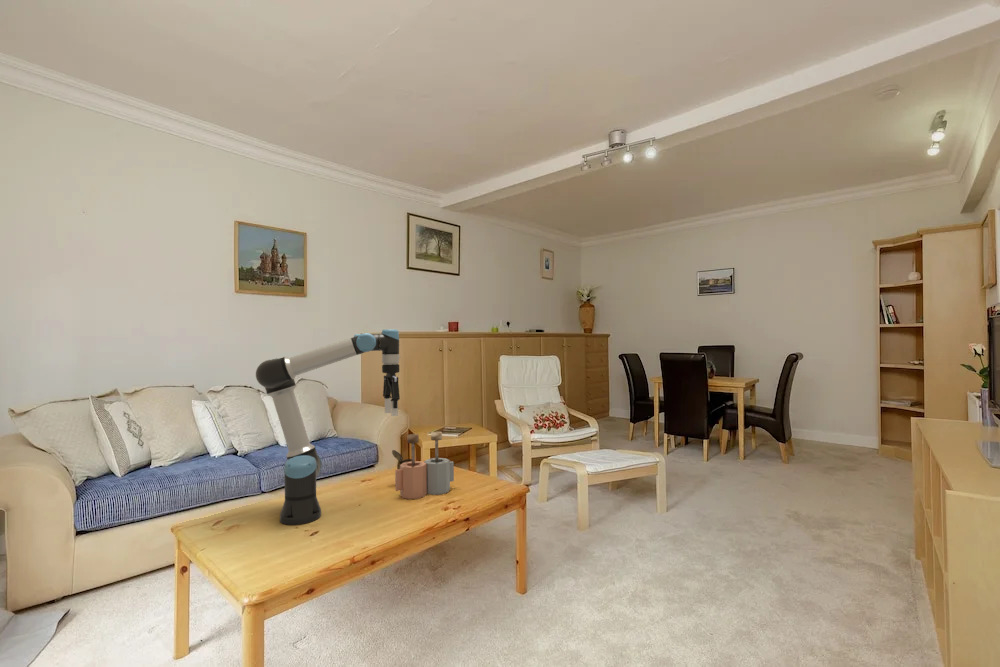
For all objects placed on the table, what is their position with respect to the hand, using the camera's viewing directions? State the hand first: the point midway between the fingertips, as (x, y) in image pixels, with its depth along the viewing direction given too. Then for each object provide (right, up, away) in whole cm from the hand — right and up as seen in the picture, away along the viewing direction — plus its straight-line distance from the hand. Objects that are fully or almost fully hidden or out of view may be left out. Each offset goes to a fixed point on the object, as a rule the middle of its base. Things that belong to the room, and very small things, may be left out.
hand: (391, 414), depth 212 cm
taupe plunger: (+9, -26, +4) cm, 28 cm away
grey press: (+20, -37, +11) cm, 44 cm away
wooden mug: (+1, -38, +22) cm, 44 cm away
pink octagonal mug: (+8, -37, +4) cm, 39 cm away
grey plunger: (+19, -26, +10) cm, 34 cm away
